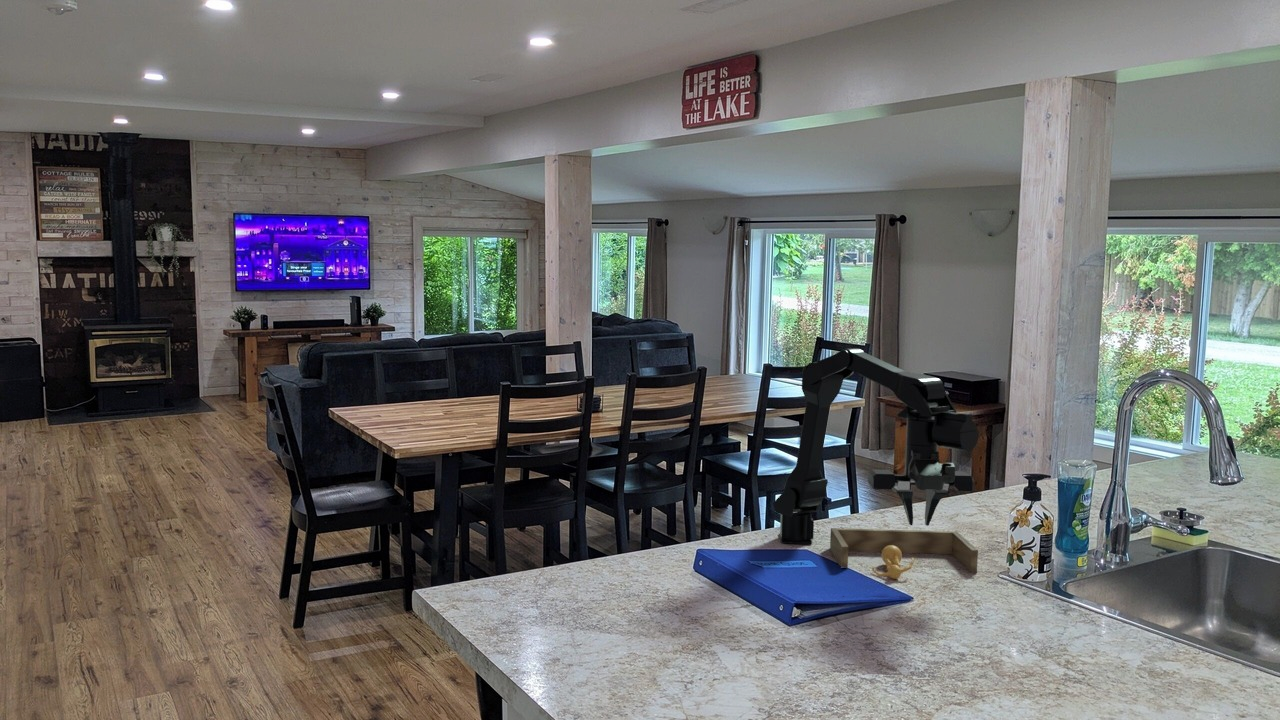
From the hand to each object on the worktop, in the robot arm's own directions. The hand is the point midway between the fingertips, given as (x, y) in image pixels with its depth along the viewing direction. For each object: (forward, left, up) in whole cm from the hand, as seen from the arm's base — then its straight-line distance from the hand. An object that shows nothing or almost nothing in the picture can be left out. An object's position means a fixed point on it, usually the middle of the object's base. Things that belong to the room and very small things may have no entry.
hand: (918, 525), depth 183 cm
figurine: (-2, +11, -10) cm, 15 cm away
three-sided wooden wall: (0, +12, -11) cm, 16 cm away
